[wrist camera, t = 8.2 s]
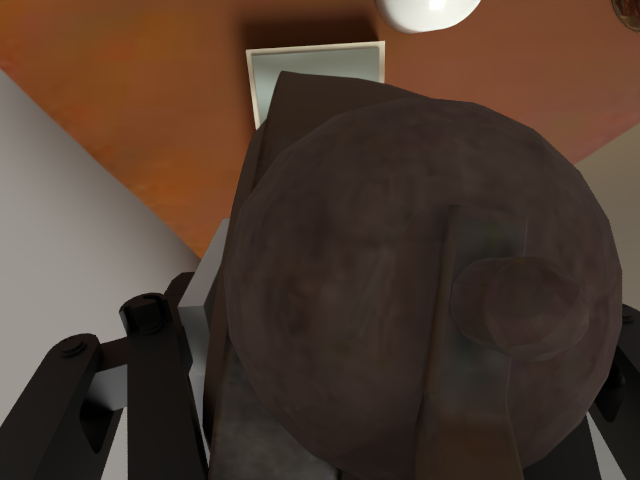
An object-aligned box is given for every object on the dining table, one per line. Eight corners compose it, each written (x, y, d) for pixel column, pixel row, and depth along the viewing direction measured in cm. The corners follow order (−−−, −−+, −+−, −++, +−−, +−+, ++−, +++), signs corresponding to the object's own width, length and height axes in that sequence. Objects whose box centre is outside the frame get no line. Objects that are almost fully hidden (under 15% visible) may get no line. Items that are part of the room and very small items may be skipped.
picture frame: (250, 49, 36) (245, 49, 33) (379, 41, 36) (385, 40, 33) (270, 209, 43) (267, 221, 40) (377, 202, 43) (382, 213, 40)
